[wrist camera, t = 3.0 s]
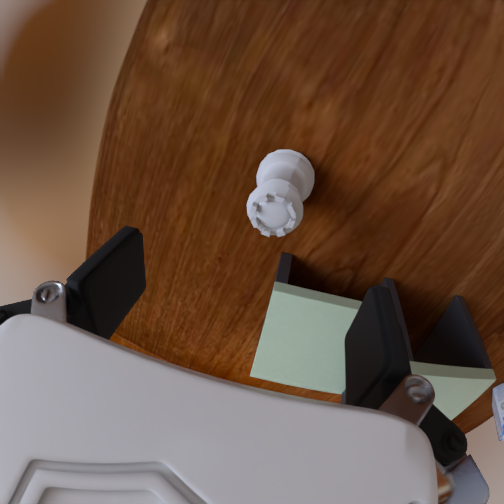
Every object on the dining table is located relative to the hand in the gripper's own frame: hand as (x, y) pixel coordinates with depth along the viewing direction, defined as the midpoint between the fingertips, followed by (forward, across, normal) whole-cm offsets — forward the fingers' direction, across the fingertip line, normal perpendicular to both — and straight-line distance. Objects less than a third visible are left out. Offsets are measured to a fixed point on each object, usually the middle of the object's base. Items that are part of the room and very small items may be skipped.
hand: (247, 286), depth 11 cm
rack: (+14, -11, +12) cm, 21 cm away
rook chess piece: (+14, 0, -1) cm, 14 cm away
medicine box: (+14, -46, +23) cm, 54 cm away
